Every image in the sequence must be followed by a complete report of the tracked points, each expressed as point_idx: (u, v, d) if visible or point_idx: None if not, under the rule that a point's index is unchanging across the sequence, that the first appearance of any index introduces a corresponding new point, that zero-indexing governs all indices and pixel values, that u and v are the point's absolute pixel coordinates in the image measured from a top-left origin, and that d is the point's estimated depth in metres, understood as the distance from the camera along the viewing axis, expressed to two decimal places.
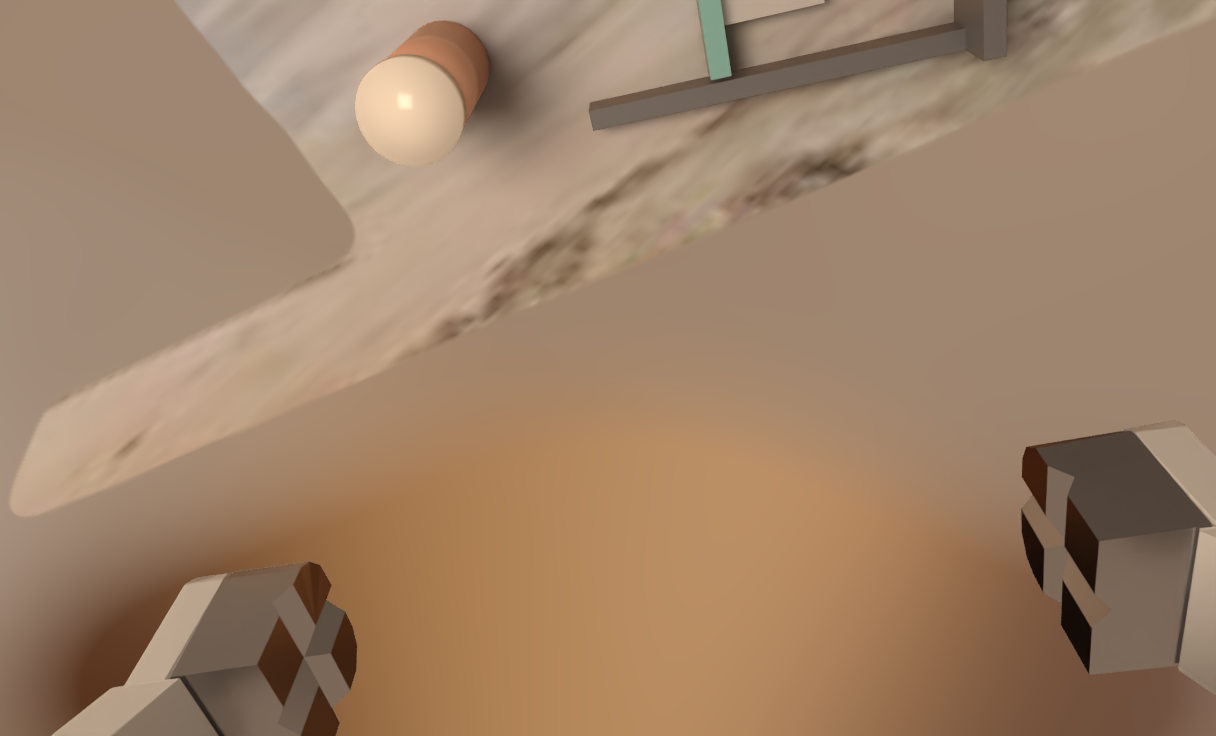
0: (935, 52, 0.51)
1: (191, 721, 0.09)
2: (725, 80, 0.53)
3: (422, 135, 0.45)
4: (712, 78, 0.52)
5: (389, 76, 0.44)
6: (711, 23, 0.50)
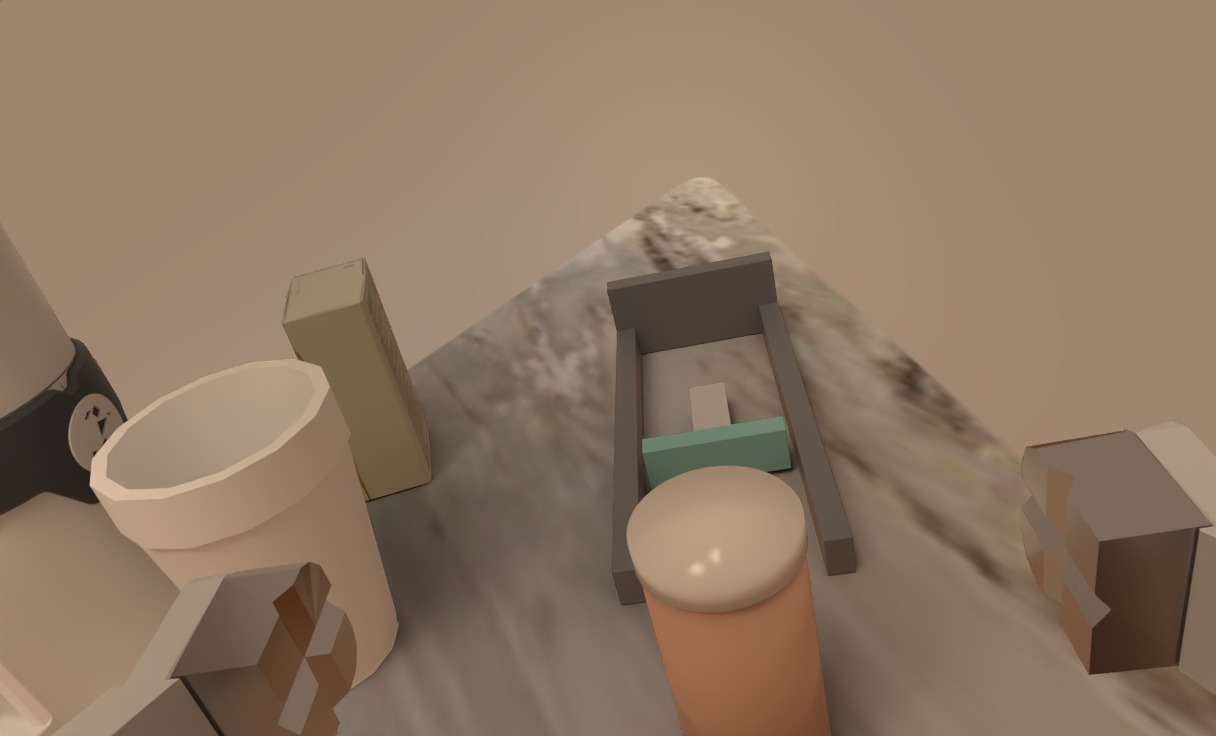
0: (777, 315, 0.55)
1: (191, 721, 0.09)
2: (793, 433, 0.45)
3: (751, 509, 0.27)
4: (783, 428, 0.44)
5: (650, 539, 0.27)
6: (722, 433, 0.45)
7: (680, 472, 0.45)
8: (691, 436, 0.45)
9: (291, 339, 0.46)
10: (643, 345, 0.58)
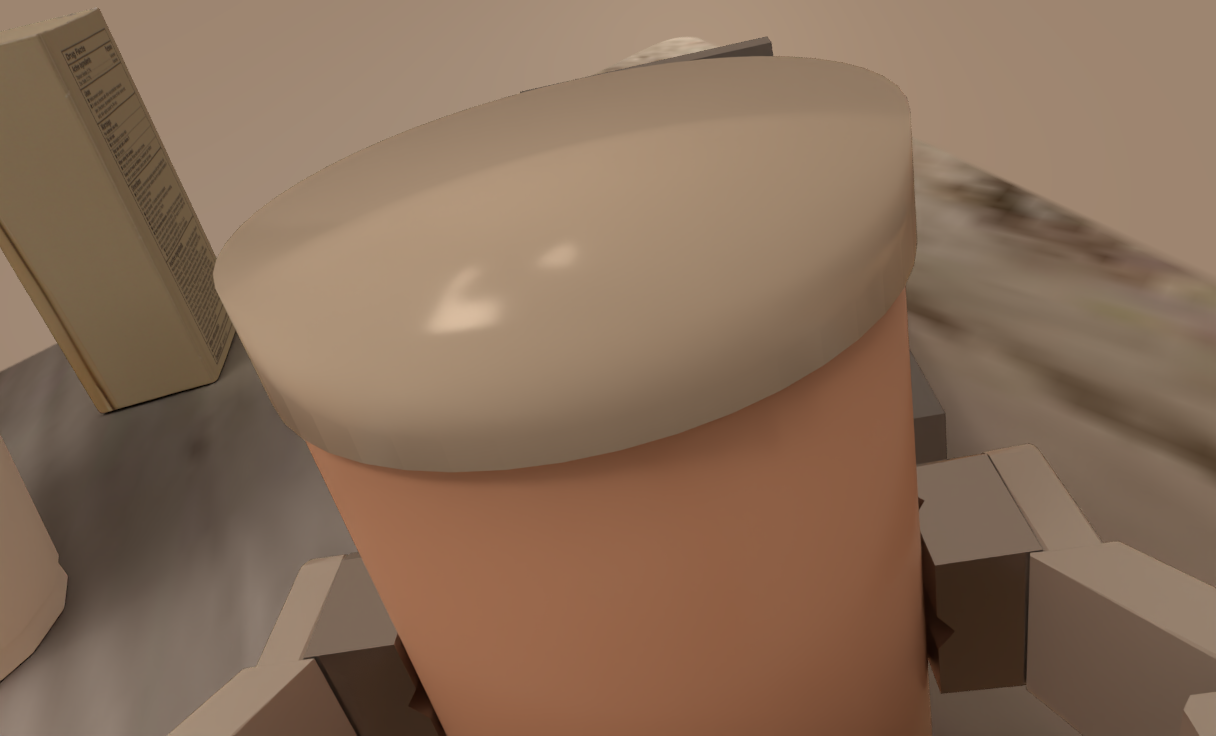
0: None
1: (323, 703, 0.09)
2: None
3: (696, 118, 0.07)
4: None
5: (310, 225, 0.07)
6: None
7: None
8: None
9: None
10: None
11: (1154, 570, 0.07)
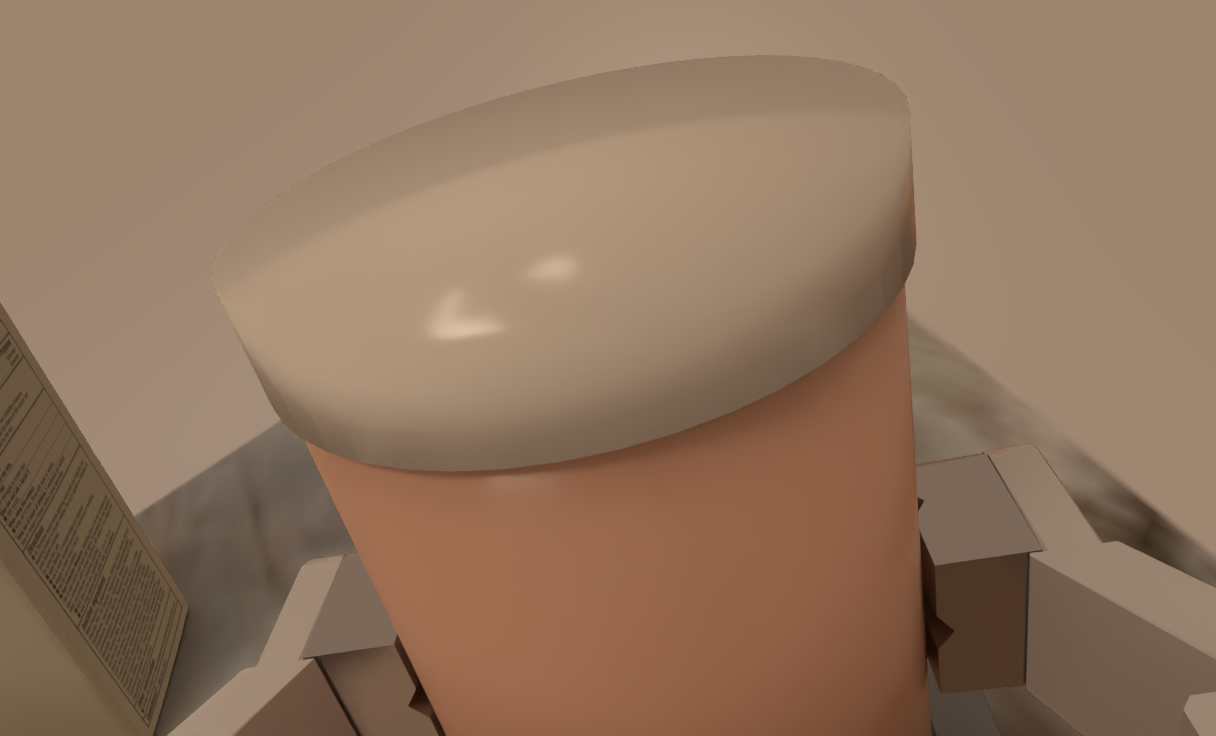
0: None
1: (323, 703, 0.09)
2: (931, 724, 0.19)
3: (695, 117, 0.07)
4: None
5: (309, 224, 0.07)
6: None
7: None
8: None
9: None
10: None
11: (1154, 570, 0.07)
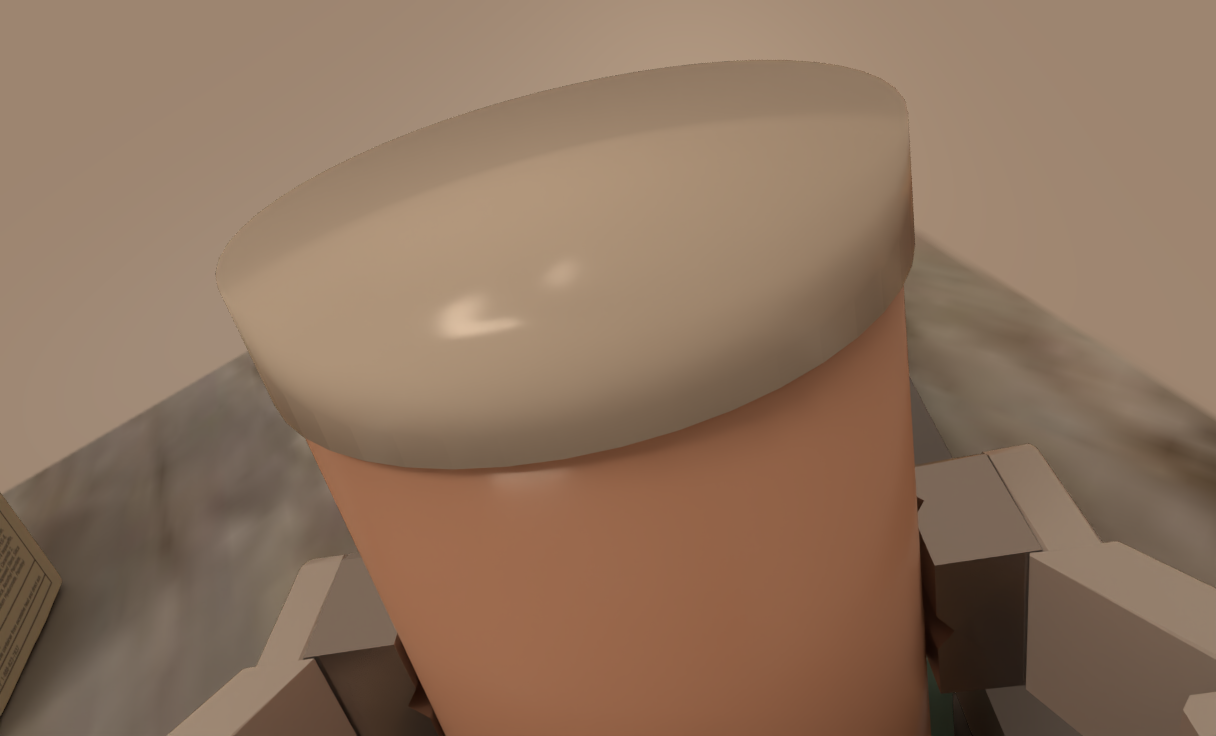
0: None
1: (323, 703, 0.09)
2: (996, 724, 0.13)
3: (695, 120, 0.07)
4: None
5: (312, 226, 0.07)
6: None
7: None
8: None
9: None
10: None
11: (1153, 570, 0.07)
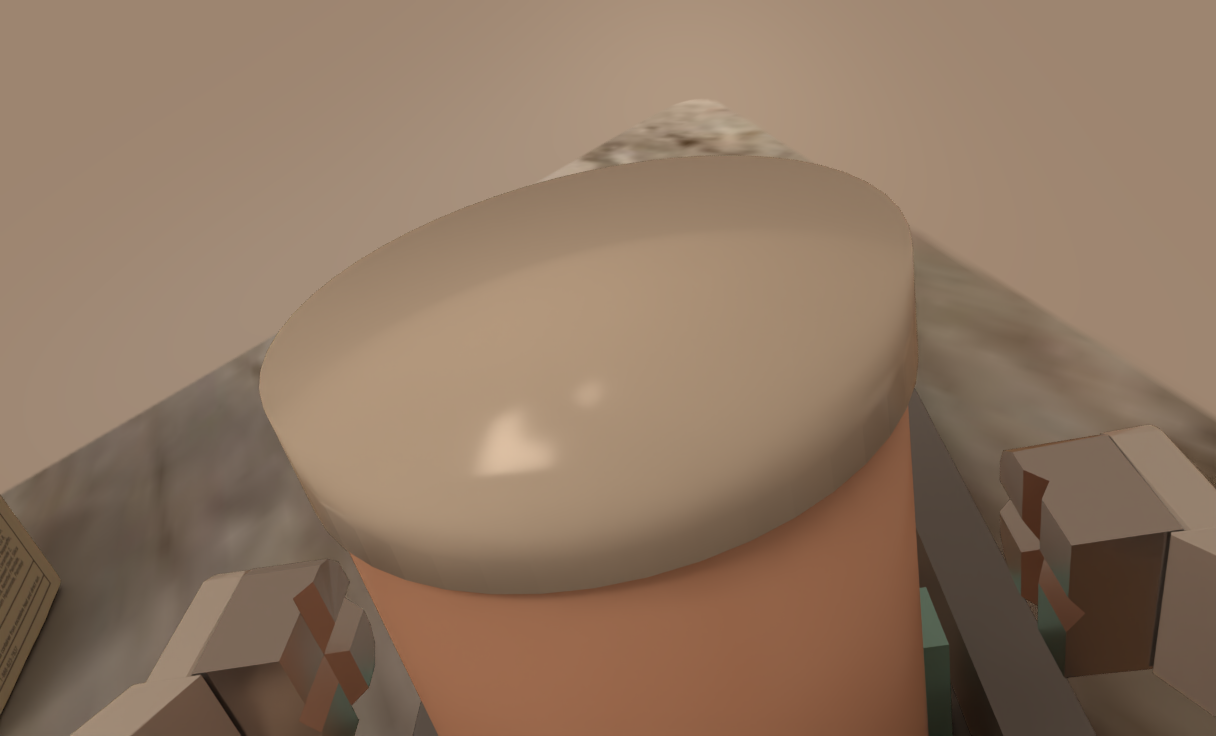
0: None
1: (212, 718, 0.09)
2: (996, 726, 0.13)
3: (710, 232, 0.08)
4: (940, 640, 0.14)
5: (347, 336, 0.07)
6: None
7: None
8: None
9: None
10: None
11: None
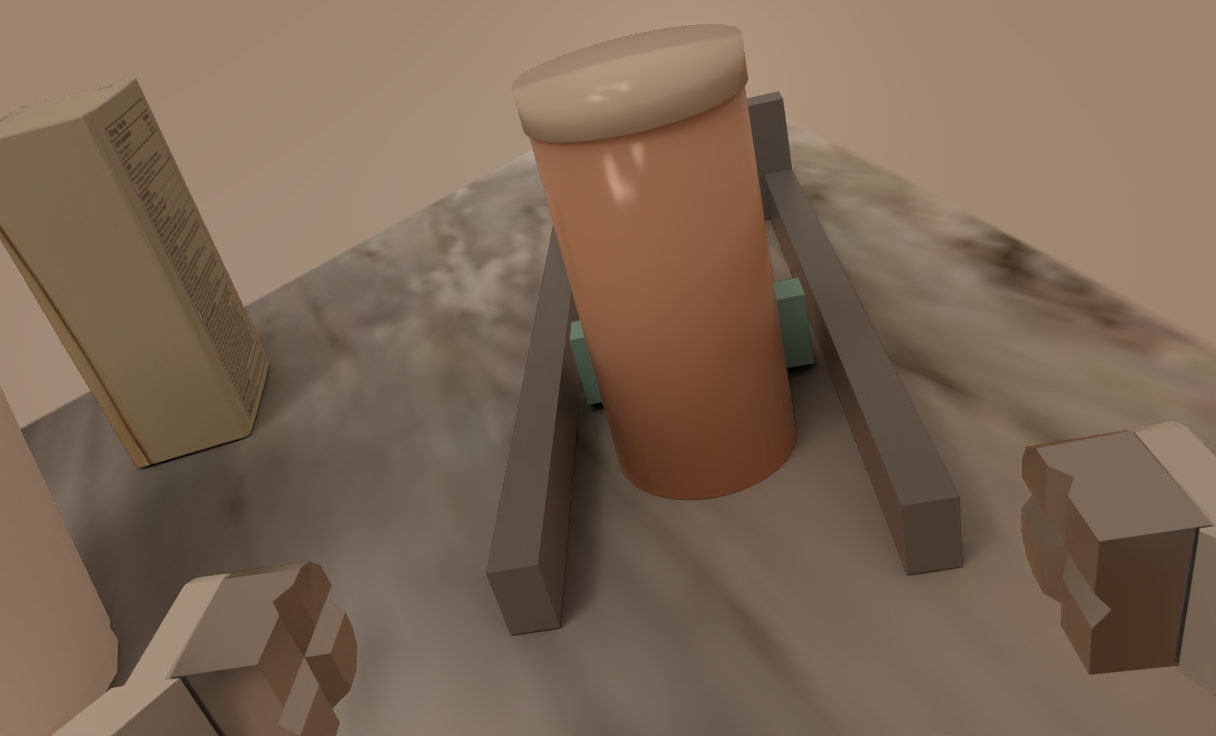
0: (793, 183, 0.36)
1: (191, 721, 0.09)
2: (827, 331, 0.26)
3: (674, 44, 0.21)
4: (801, 293, 0.27)
5: (541, 81, 0.21)
6: None
7: None
8: None
9: None
10: None
11: None
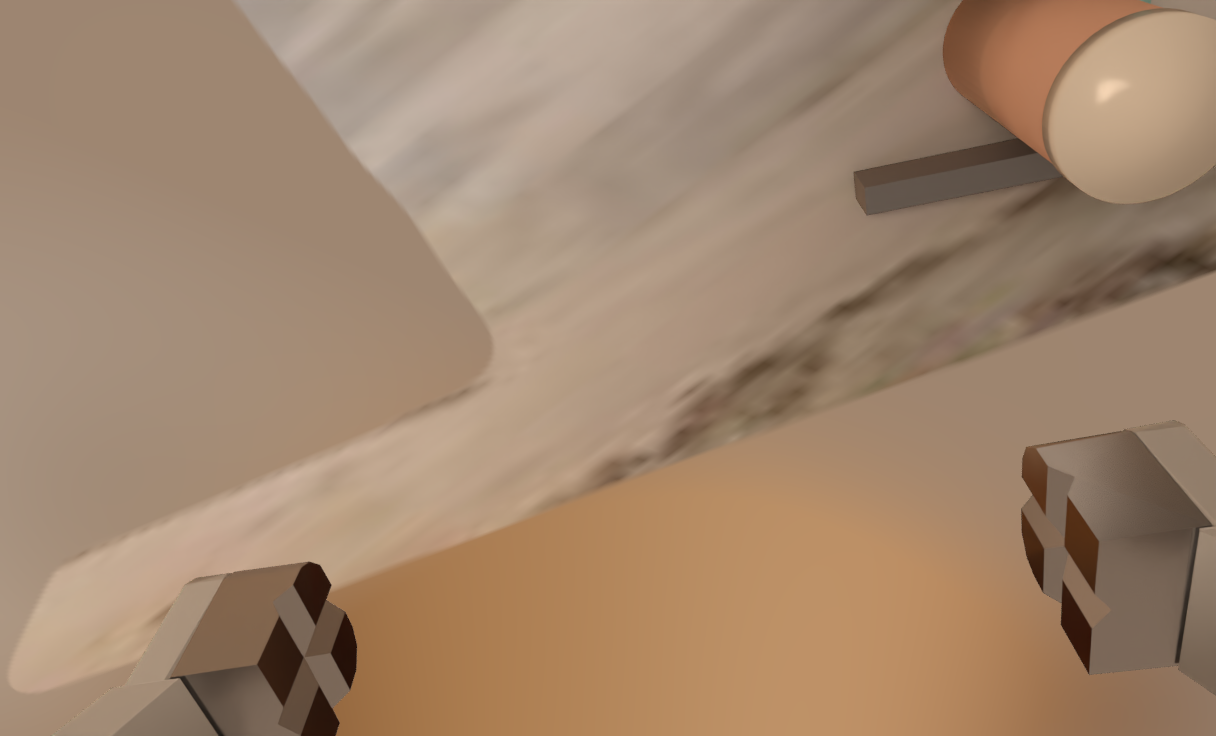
0: None
1: (191, 721, 0.09)
2: None
3: (1161, 151, 0.26)
4: None
5: (1145, 47, 0.25)
6: None
7: None
8: None
9: None
10: None
11: None
